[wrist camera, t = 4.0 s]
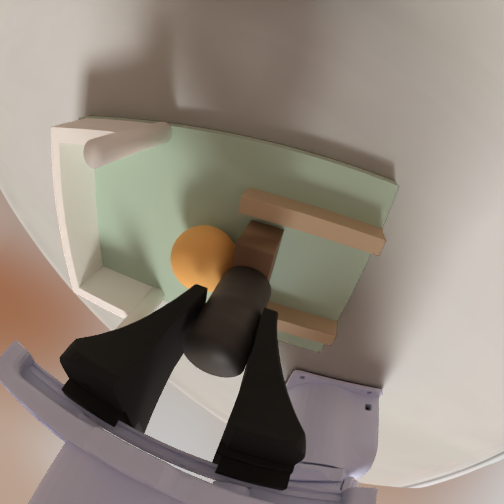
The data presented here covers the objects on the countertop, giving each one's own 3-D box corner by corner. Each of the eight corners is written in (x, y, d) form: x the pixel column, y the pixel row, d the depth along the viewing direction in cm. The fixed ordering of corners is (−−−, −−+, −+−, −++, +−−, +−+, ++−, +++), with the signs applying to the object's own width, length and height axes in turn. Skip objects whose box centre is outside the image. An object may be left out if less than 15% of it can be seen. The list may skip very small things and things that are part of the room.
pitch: (396, 178, 14) (434, 229, 8) (319, 344, 22) (308, 418, 16) (87, 113, 17) (14, 132, 11) (96, 263, 25) (49, 306, 19)
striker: (290, 231, 16) (256, 330, 10) (271, 295, 19) (235, 394, 12) (245, 217, 17) (183, 304, 10) (232, 282, 19) (182, 374, 13)
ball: (253, 227, 17) (221, 259, 14) (242, 279, 19) (213, 316, 16) (196, 207, 18) (156, 231, 14) (191, 258, 20) (157, 288, 17)
